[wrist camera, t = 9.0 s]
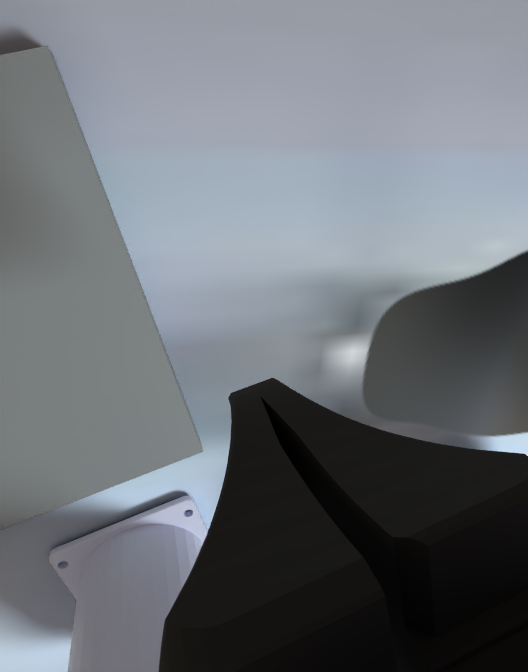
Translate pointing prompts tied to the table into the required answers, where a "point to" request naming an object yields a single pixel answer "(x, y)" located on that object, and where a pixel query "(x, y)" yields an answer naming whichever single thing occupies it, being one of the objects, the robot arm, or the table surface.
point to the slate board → (71, 316)
